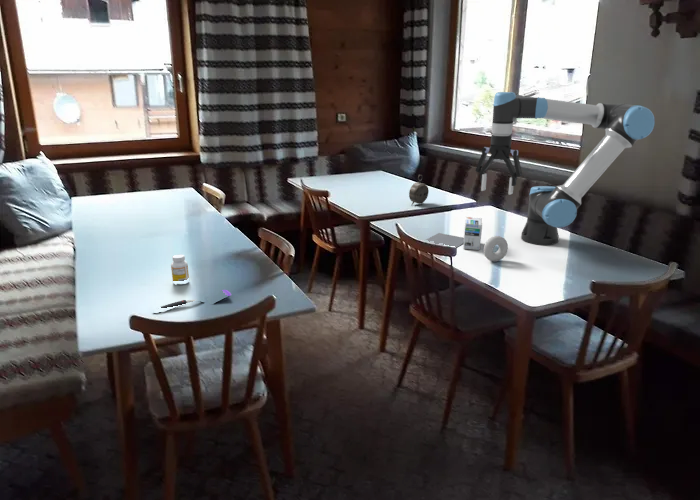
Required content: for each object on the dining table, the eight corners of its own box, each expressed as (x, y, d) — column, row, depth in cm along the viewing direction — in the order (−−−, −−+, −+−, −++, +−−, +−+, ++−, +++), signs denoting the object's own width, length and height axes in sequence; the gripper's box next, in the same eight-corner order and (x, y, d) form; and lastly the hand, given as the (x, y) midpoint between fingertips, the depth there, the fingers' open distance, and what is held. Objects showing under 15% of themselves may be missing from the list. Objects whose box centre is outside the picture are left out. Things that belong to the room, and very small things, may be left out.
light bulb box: (479, 250, 224) (482, 224, 221) (462, 249, 226) (465, 223, 222) (479, 242, 234) (482, 217, 231) (463, 240, 236) (465, 216, 232)
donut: (503, 258, 216) (505, 233, 212) (508, 261, 212) (510, 236, 209) (480, 261, 213) (482, 236, 209) (485, 264, 209) (487, 238, 206)
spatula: (155, 318, 166) (154, 310, 165) (150, 310, 172) (149, 302, 171) (232, 301, 178) (232, 294, 177) (226, 294, 183) (225, 287, 182)
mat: (470, 239, 238) (470, 238, 238) (453, 249, 226) (453, 248, 226) (438, 233, 247) (438, 233, 247) (421, 242, 235) (421, 241, 234)
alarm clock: (422, 202, 302) (423, 172, 297) (429, 204, 298) (431, 174, 293) (408, 205, 295) (409, 175, 290) (415, 207, 291) (416, 176, 286)
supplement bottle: (179, 279, 195) (176, 252, 192) (192, 281, 193) (189, 254, 190) (169, 284, 191) (166, 257, 188) (182, 286, 189) (179, 259, 186)
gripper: (535, 135, 207) (529, 194, 214) (477, 131, 220) (473, 186, 227) (528, 137, 201) (522, 197, 208) (469, 133, 214) (465, 190, 221)
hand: (496, 192), depth 218 cm, fingers open, 10 cm apart
